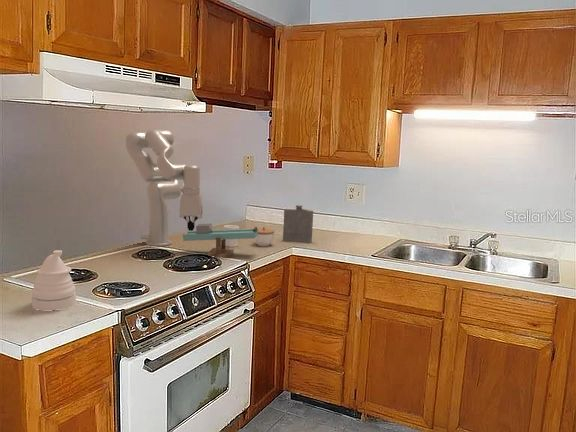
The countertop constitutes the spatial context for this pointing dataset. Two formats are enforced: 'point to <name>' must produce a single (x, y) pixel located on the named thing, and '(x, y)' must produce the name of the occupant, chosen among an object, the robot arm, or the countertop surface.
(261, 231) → the lidded jar
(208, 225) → the block
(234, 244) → the white cup
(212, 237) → the beam
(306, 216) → the hip flask
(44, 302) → the honey pot
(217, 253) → the stand
